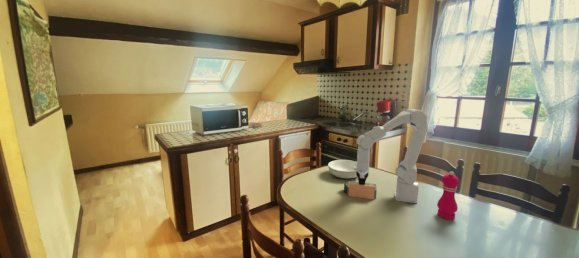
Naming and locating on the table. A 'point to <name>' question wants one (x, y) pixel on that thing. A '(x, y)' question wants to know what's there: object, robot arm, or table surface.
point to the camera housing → (346, 186)
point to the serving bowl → (343, 168)
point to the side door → (361, 191)
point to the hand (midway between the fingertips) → (361, 186)
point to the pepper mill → (448, 197)
